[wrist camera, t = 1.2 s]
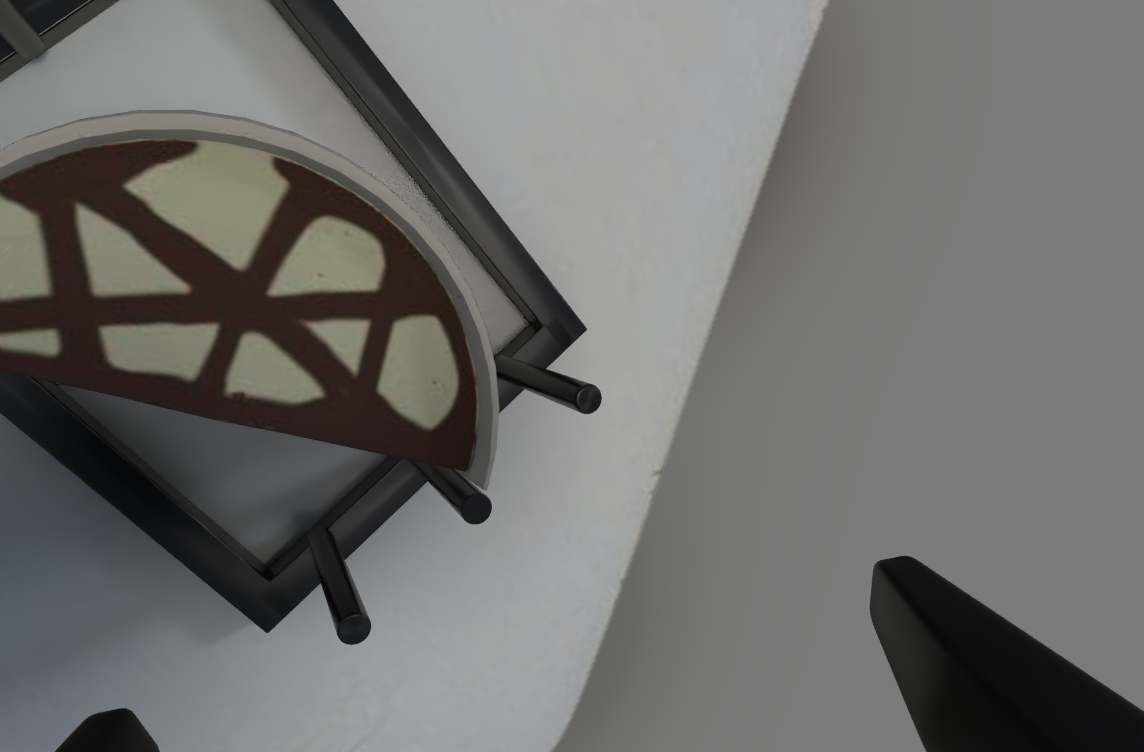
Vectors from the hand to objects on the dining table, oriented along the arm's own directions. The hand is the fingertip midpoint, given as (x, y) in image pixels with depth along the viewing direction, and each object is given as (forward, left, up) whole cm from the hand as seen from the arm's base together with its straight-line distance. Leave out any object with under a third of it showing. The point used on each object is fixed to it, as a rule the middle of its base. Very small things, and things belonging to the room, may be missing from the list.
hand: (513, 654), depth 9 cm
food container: (+1, +5, -18) cm, 18 cm away
